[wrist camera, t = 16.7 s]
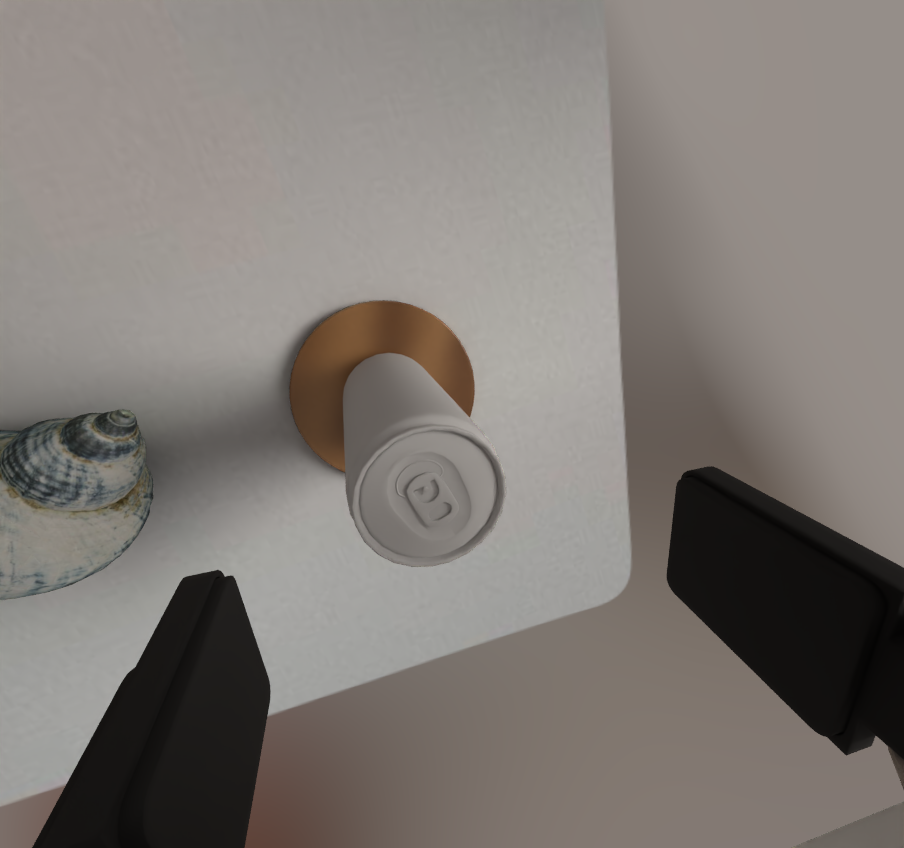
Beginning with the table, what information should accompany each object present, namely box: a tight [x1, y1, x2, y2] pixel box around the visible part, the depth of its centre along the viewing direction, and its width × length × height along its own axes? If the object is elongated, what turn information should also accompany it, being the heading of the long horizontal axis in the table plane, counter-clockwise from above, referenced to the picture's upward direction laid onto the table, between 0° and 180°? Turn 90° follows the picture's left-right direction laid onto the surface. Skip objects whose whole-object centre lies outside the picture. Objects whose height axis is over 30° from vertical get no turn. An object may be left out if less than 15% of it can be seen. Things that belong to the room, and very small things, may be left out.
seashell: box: [0, 410, 153, 600], centre depth 19 cm, size 6×8×12 cm
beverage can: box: [343, 353, 506, 567], centre depth 18 cm, size 5×5×12 cm
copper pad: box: [290, 300, 474, 472], centre depth 24 cm, size 10×10×1 cm
